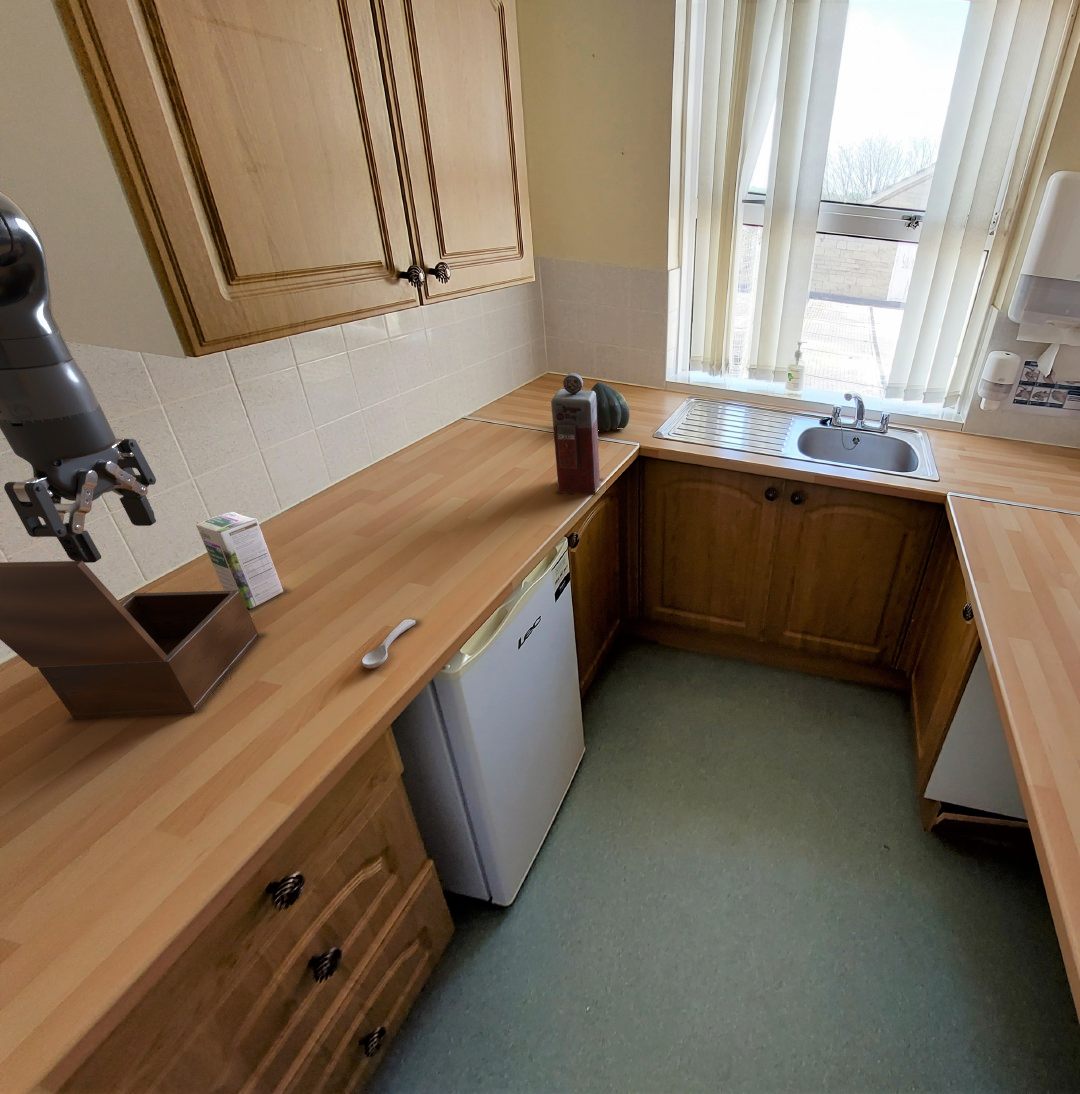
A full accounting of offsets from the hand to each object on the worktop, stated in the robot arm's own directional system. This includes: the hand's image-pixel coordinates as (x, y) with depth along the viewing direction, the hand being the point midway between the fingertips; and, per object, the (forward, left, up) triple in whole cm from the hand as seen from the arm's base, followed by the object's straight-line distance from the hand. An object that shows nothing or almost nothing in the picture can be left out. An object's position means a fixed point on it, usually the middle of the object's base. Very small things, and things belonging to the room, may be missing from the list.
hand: (118, 541), depth 67 cm
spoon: (+22, +7, -24) cm, 33 cm away
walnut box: (-4, +3, -23) cm, 24 cm away
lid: (-4, -6, -6) cm, 10 cm away
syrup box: (-3, +22, -24) cm, 33 cm away
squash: (+53, +112, -24) cm, 126 cm away
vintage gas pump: (+47, +66, -24) cm, 85 cm away
